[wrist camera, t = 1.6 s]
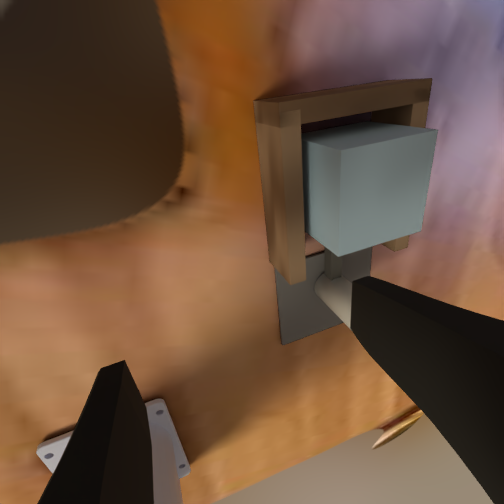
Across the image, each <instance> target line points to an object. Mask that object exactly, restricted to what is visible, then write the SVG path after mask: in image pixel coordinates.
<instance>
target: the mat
mask: <svg viewBox="0 0 504 504" xmlns="http://www.w3.org/2000/svg"><path fill="white" fill-rule="evenodd" d="M371 257H372V246H371V247H368V248H365V249H362V250H359V251H355V252H352V253H349V254H346V255H343V256H342V274H341V275H342V276H343V277H344V278H346V279H347V280H348V281H349V282H351V283H352V281H354V280H357V279H360V278H363V277H366V276H370V269H371ZM305 259H306V280H305V281H302V282H299V283H296V284H293V285H290V284H289V283H288V282H287V281H286V280H285V278H284V277H283V276H282V275H281V274H280V273H279V272H278V270H277V269H276V268H275V267H274V268H275V279H276V290H277V300H278V311H279V322H280V333H281V344H282V345H285V344H288V343H291V342H293V341H296V340H299V339H301V338H304V337H307V336H309V335H312V334H315V333H317V332H320V331H323V330H325V329H328V328H331V327H333V326H336V325H339V324H341V323H344V322H343V321H342V320H341V319H340V318H339V317H338V316H337V315H336V314H335V313H334V312H333V311H332V310H331V309H330V308H329V307H328V306H327V305H326V304H325V303H324V302H323V300H322V299H321V298H320V297H319V296H318V295H317V294H316V293H315V289H314V287H315V283H316V281H317V279H318V278H319V277H320V276H321V275H322V274H323V273H325V251H324V252H321V253H317V254H314V255H311V256H308V257H305Z"/></svg>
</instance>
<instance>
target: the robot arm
mask: <svg viewBox="0 0 504 504" xmlns="http://www.w3.org/2000/svg"><path fill="white" fill-rule="evenodd" d="M350 329H351V330H352V332H353V333H354V334H355V336H356V337H357V339H358V340H359V341H360V343H361V344H362V346H363V347H364V348H365V350H366V351H367V352H368V353H369V355H370V356H371V357H372V358H373V359H374V360H375V361H376V362H377V363H378V364H379V366H380V367H381V368H382V369H383V370H384V371H385V372H386V373H387V374H388V375H389V376H390V377H391V378H392V379H393V380H394V382H395V383H396V384H397V385H398V386H399V387H400V388H401V389H402V390H403V391H404V392H405V393H406V394H407V395H408V396H409V397H410V398H411V400H412V401H413V402H414V403H415V404H416V405H417V406H418V407H419V408H420V409H421V410H422V411H423V412H424V414H425V415H426V416H427V417H428V418H429V419H430V420H431V421H432V423H433V424H434V425H435V426H436V427H437V429H438V430H439V431H440V433H441V434H442V435H443V436H444V438H445V439H446V440H447V441H448V443H449V444H450V445H451V447H452V448H453V449H454V450H455V451H456V453H457V454H458V455H459V456H460V458H461V459H462V461H463V462H464V463H465V465H466V466H467V467H468V469H469V470H470V471H471V473H472V474H473V475H474V477H475V478H476V479H477V481H478V482H479V483H480V484H481V486H482V487H483V489H484V490H485V492H486V493H487V494H488V496H489V497H490V499H491V500H492V501H493V503H494V504H504V321H503V320H499V319H496V318H492V317H488V316H485V315H482V314H479V313H475V312H472V311H469V310H466V309H463V308H460V307H457V306H454V305H450V304H447V303H445V302H442V301H439V300H436V299H433V298H430V297H427V296H425V295H422V294H419V293H416V292H414V291H411V290H408V289H405V288H403V287H400V286H397V285H394V284H392V283H389V282H386V281H383V280H380V279H377V278H374V277H371V276H366V277H363V278H360V279H357V280H354V281H352V297H351V320H350ZM158 410H159V411H158ZM36 453H37V455H38V456H39V457H40V459H41V460H42V461H43V462H44V463H45V465H46V466H47V467H48V468H49V470H50V471H51V472H52V473H53V474H52V476H51V478H50V480H49V482H48V484H47V486H46V488H45V490H44V492H43V494H42V496H41V498H40V500H39V502H38V504H183V500H182V494H181V487H180V480H179V479H180V478H182V477H184V476H186V475H188V474H189V473H190V471H191V469H190V465H189V462H188V460H187V457H186V455H185V452H184V449H183V447H182V444H181V442H180V439H179V437H178V434H177V432H176V429H175V427H174V424H173V421H172V419H171V416H170V414H169V411H168V409H167V406H166V404H165V401H164V400H163V399H155V400H152V401H150V402H147V403H144V401H143V399H142V397H141V395H140V392H139V390H138V388H137V386H136V384H135V382H134V379H133V377H132V375H131V373H130V371H129V368H128V366H127V364H126V362H125V360H123V361H120V362H118V363H115V364H112V365H109V366H106V367H103V368H101V369H100V371H99V372H98V374H97V377H96V379H95V382H94V384H93V387H92V389H91V392H90V394H89V396H88V399H87V401H86V404H85V406H84V408H83V411H82V413H81V415H80V417H79V420H78V422H77V424H76V426H75V429H74V430H73V431H71V432H68V433H65V434H63V435H60V436H58V437H55V438H52V439H50V440H47V441H44V442H42V443H40V444H39V445H38V448H37V452H36Z"/></svg>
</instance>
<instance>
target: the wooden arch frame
mask: <svg viewBox="0 0 504 504" xmlns="http://www.w3.org/2000/svg"><path fill="white" fill-rule="evenodd" d="M431 85H432V78H427V79H403V80H386V81H379V82H373V83H366V84H360V85H353V86H347V87H340V88H334V89H327V90H321V91H314V92H308V93H301V94H295V95H288V96H282V97H275V98H269V99H262V100H256V101H253V102H254V112H255V122H256V132H257V141H258V151H259V161H260V171H261V181H262V191H263V201H264V211H265V221H266V231H267V241H268V251H269V261H270V262H271V264H272V265H273V266H274V267H275V268H276V269H277V270H278V272H279V273H280V274H281V275H282V276H283V277H284V278H285V280H286V281H287V282H288V283H289V284H290V285H293V284H296V283H299V282H302V281H305V280H306V259H305V230H304V201H303V172H302V143H301V124H305V123H310V122H316V121H321V120H327V119H332V118H338V117H343V116H349V115H354V114H360V113H365V112H371V111H372V115H371V122H378V123H386V124H395V125H403V126H411V127H419V128H425V125H426V118H427V112H428V105H429V98H430V91H431ZM408 240H409V235H407V236H404V237H400V238H397V239H394V240H391V241H387V242H384V243H381V244H382V245H384V246H386V247H388V248H389V249H391V250H393V251H394V252H395V251H398V250H401V249H404V248H407V247H408Z"/></svg>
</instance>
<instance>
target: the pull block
mask: <svg viewBox="0 0 504 504" xmlns="http://www.w3.org/2000/svg"><path fill="white" fill-rule="evenodd" d="M437 133H438V130H436V129H428V128H419V127H411V126H403V125H395V124H386V123H378V122H370V121H365V122H360V123H355V124H349V125H344V126H339V127H334V128H328V129H323V130H318V131H313V132H307V133H302V134H301V143H302V172H303V201H304V230H305V232H306V233H308V234H309V235H310V236H312V237H313V238H314V239H316V240H317V241H318V242H320V243H321V244H322V245H323V246H325V273H323V274H322V275H321V276H320V277H319V278H318V279H317V281H316V283H315V287H314V289H315V293H316V294H317V295H318V296H319V297H320V298H321V299H322V300H323V302H324V303H325V304H326V305H327V306H328V307H329V308H330V309H331V310H332V311H333V312H334V313H335V314H336V315H337V316H338V317H339V318H340V319H341V320H342V321H343V322H344V323H345V324H346V325H347V326H348V327H349V328H350V320H351V297H352V283H351V282H349V281H348V280H347V279H346V278H344V277H343V276H342V275H341V274H342V256H343V255H346V254H349V253H352V252H355V251H359V250H362V249H365V248H368V247H371V246H375V245H378V244H381V243H384V242H387V241H391V240H394V239H397V238H400V237H404V236H407V235H410V234H413V233H416V232H420V231H421V228H422V222H423V216H424V210H425V204H426V198H427V192H428V186H429V180H430V174H431V168H432V162H433V157H434V151H435V145H436V139H437ZM351 331H352V330H351Z"/></svg>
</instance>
